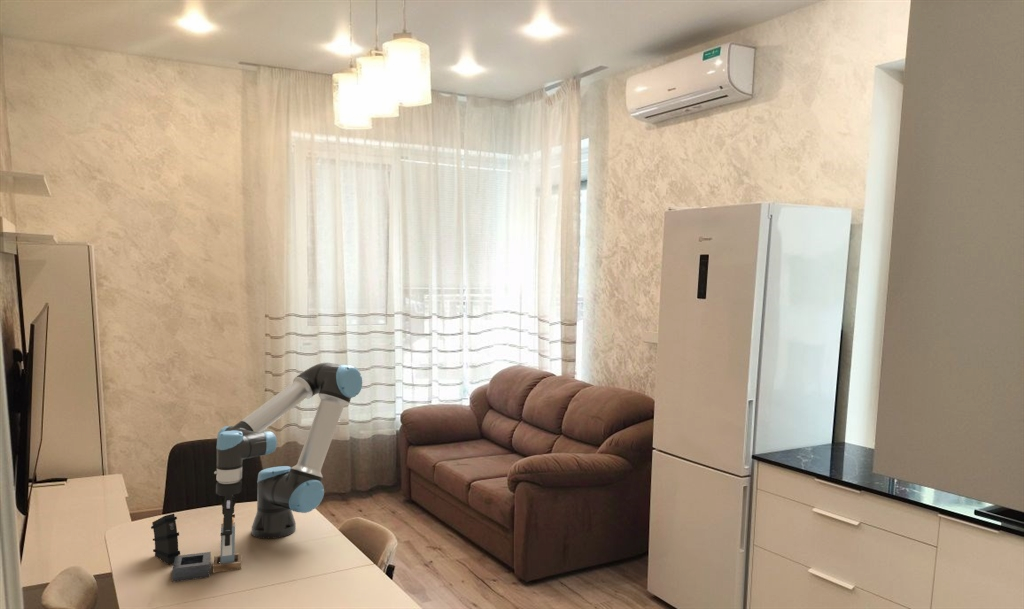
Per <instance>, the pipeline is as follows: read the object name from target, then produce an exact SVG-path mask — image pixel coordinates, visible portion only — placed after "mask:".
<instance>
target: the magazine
mask: <svg viewBox="0 0 1024 609" xmlns="http://www.w3.org/2000/svg"><path fill="white" fill-rule="evenodd" d="M176 520H178V516H175V513H170V514H166V515H163V516H162V517H159V518H158V519H156V520H154V521H152V525H151V526H150V528H151V529H150V530H153V535H154V538H152V541H154V549H152V550H153V551H152V552H153V553H154V557H156V558H158V560H160V561H162V562H163V563H165V564H166V565H168V566H170V565H173V564H174V560H175V556H179V555H181V551H180V550H179V540H178V539H179V536H180V532H179V531H178V529H177V523H176Z"/></svg>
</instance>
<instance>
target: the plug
mask: <svg viewBox="0 0 1024 609" xmlns="http://www.w3.org/2000/svg"><path fill="white" fill-rule="evenodd" d="M234 519H235V518H234V517H232V555H228V556H222V544H223V536H221V535H220V555H221V562H220V563H219V564H225V563H232V562H235V561H234V554H236V553H235V548H236V541H235V540H236V522H234ZM223 523H224V517H223V518H222V523H221V524H220V526H221V527H220V534H221V533H223ZM226 531H230V530H226Z"/></svg>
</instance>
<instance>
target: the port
mask: <svg viewBox="0 0 1024 609" xmlns="http://www.w3.org/2000/svg"><path fill="white" fill-rule="evenodd" d="M211 554H212V553H211V551H205V552H197V553H191V554H182V555H181V554H180V555H178V556H175V560H174V564H172V573H171V574H172V575H171V577H172V578H171V582H172V583H175V582H176V583H177V582H183V581H190V580H197V579H198V580H199V579H206V578H205V577H207V578H209V577H210V573H211V572H210V571H211V558H212V557H211Z"/></svg>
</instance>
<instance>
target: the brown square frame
mask: <svg viewBox="0 0 1024 609" xmlns="http://www.w3.org/2000/svg"><path fill="white" fill-rule="evenodd" d="M219 562H221V554H220V555H214V556H213V564H212V573H213V572H214V573H220V572H219V571H222V572H228V570H229V571H235V570H241V569H242V553H241V552H239V553H235V554H234V562H232V563H225V564H220V563H219Z"/></svg>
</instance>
